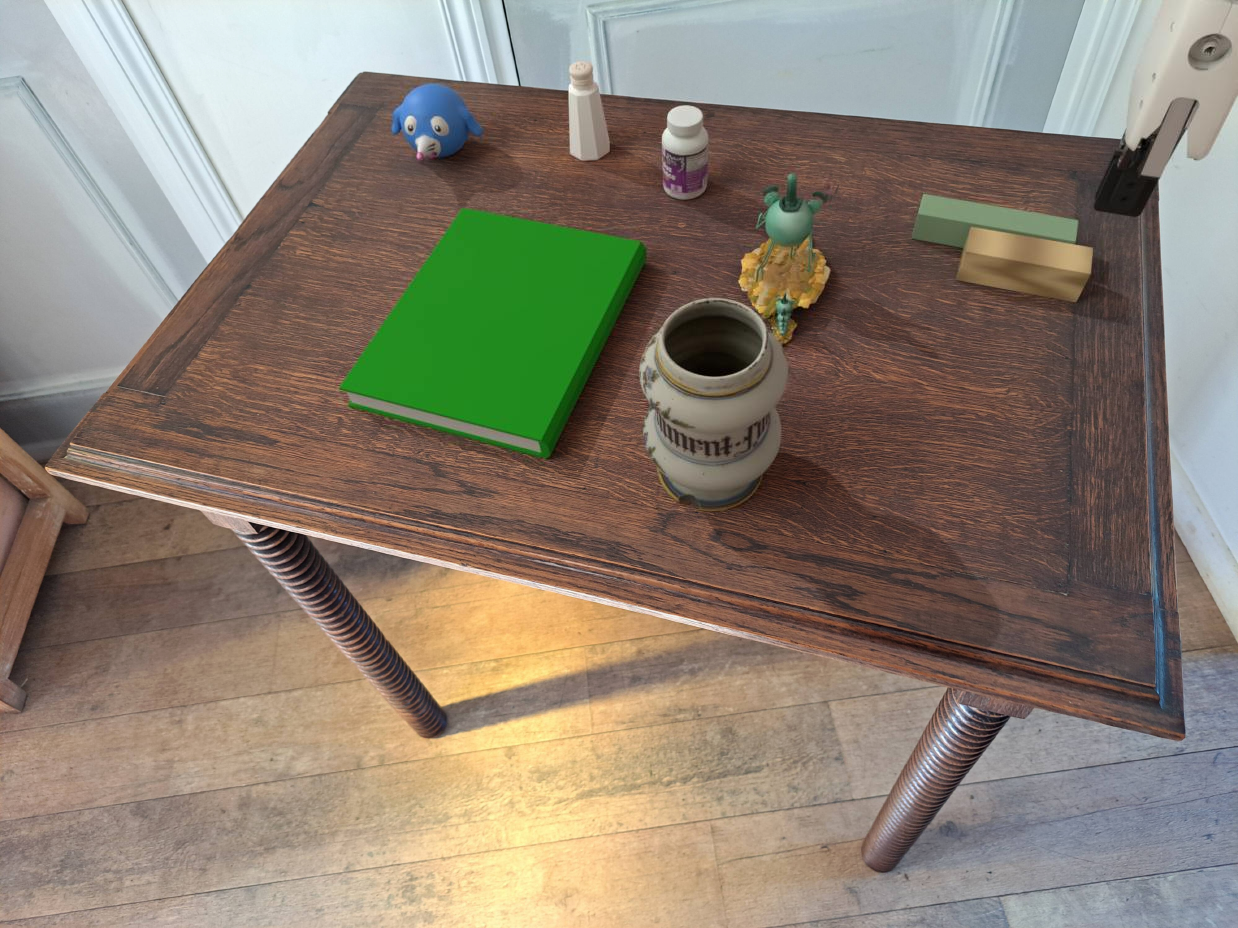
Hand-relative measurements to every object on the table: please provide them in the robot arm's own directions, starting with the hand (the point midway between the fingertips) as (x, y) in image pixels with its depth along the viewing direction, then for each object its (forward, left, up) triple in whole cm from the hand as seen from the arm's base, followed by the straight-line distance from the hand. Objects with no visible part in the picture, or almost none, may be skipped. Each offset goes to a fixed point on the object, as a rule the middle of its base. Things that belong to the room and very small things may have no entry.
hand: (1116, 207), depth 63 cm
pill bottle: (+41, -21, -23) cm, 51 cm away
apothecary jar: (+26, +17, -23) cm, 38 cm away
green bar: (+6, -21, -22) cm, 31 cm away
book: (+52, +7, -23) cm, 57 cm away
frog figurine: (+26, -8, -23) cm, 35 cm away
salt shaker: (+55, -25, -23) cm, 64 cm away
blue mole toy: (+73, -18, -23) cm, 78 cm away
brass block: (+2, -16, -22) cm, 28 cm away
